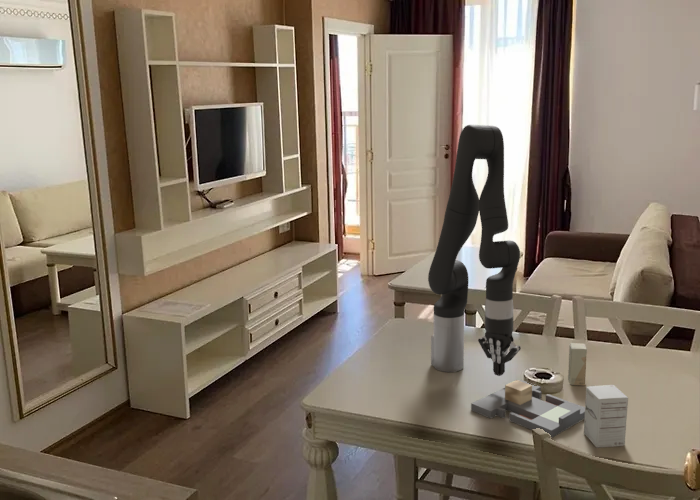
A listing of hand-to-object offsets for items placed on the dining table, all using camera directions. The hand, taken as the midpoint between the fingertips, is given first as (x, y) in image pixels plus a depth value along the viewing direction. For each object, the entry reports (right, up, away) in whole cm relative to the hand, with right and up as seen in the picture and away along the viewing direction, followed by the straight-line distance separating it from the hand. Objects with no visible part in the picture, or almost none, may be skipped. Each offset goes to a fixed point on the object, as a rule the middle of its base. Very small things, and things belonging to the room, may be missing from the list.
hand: (498, 374), depth 190 cm
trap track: (+7, -8, -7) cm, 13 cm away
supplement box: (+20, -12, -23) cm, 33 cm away
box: (+25, -4, +10) cm, 27 cm away
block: (+4, -6, -4) cm, 8 cm away
